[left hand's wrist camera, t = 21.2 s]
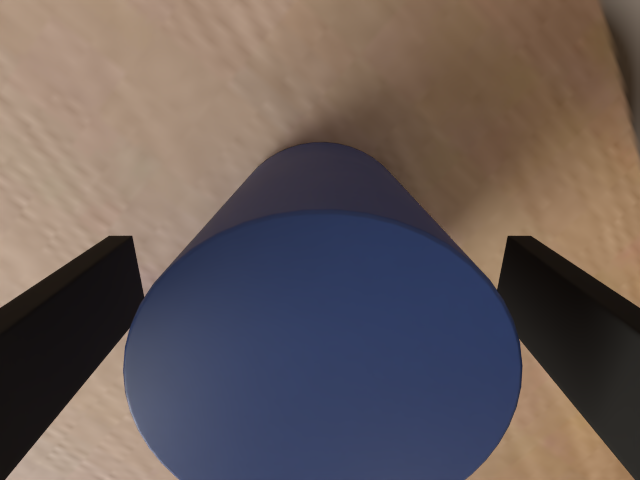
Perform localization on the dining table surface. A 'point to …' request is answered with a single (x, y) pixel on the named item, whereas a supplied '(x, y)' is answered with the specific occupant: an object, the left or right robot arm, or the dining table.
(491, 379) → the canister
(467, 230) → the dining table surface
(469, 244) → the dining table surface
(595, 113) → the dining table surface
